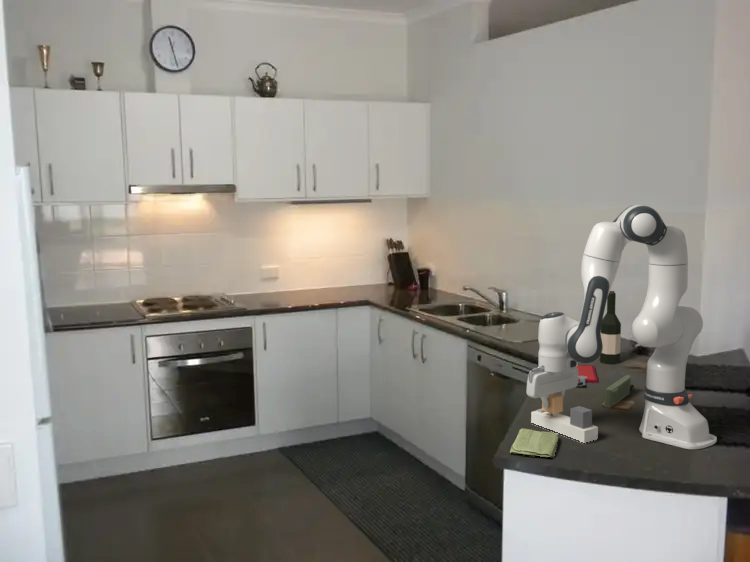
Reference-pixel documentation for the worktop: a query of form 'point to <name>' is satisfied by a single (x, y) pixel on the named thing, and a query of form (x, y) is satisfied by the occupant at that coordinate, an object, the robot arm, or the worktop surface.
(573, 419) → the block
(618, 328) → the wine bottle
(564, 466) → the worktop surface
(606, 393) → the handheld radio
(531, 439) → the washcloth
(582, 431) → the power strip
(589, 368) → the red board with handle
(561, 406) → the orange charger
